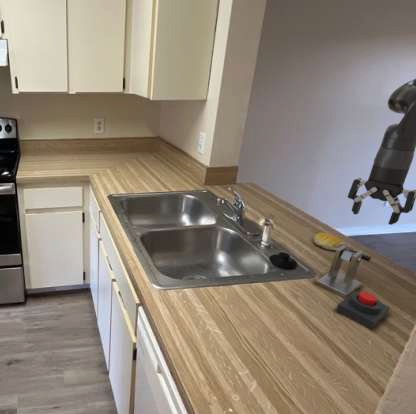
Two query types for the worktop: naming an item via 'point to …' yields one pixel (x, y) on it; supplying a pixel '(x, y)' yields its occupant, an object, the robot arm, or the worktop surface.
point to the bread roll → (328, 241)
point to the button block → (363, 310)
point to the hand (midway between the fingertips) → (372, 218)
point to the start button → (367, 298)
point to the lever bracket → (341, 275)
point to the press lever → (348, 255)
